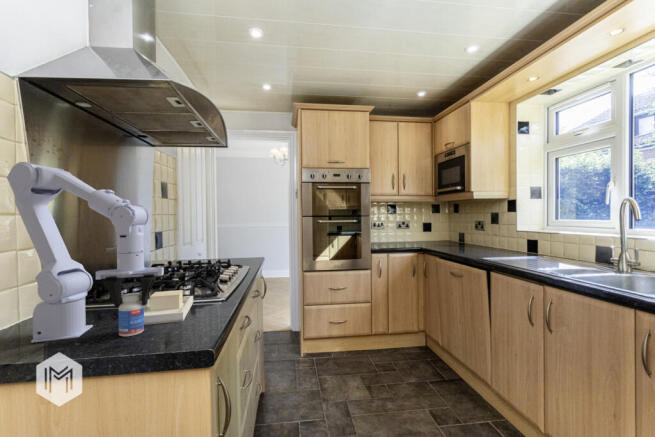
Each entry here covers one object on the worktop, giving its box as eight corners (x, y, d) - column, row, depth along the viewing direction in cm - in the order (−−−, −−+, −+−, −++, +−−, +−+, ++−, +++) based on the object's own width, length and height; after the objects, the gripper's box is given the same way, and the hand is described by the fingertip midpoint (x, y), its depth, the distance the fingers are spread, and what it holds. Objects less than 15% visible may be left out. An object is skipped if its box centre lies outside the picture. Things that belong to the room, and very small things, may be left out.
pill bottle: (132, 337, 71) (131, 298, 71) (113, 336, 72) (112, 297, 72) (149, 329, 77) (148, 292, 76) (131, 328, 77) (131, 291, 77)
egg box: (150, 311, 89) (149, 296, 89) (155, 305, 95) (155, 292, 95) (179, 308, 92) (179, 294, 92) (183, 303, 97) (182, 290, 97)
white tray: (126, 327, 78) (125, 317, 78) (146, 307, 95) (146, 299, 95) (183, 321, 82) (183, 312, 82) (193, 303, 99) (193, 295, 99)
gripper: (89, 255, 68) (89, 313, 68) (158, 252, 72) (159, 307, 72) (102, 252, 75) (103, 304, 75) (165, 249, 79) (166, 299, 79)
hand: (131, 305), depth 74 cm, fingers closed on pill bottle, 5 cm apart
